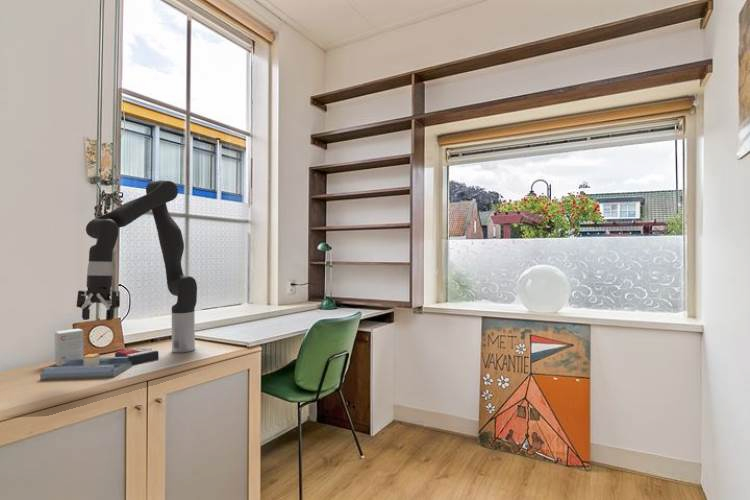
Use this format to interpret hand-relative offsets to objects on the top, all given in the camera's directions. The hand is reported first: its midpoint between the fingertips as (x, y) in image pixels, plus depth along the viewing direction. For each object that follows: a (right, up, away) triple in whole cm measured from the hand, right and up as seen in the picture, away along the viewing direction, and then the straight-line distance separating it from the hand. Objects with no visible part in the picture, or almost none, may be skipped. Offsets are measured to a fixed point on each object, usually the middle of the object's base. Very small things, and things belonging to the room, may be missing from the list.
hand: (97, 319), depth 142 cm
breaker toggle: (-5, -18, +4) cm, 19 cm away
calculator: (+1, -21, +22) cm, 30 cm away
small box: (-22, -20, +16) cm, 34 cm away
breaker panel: (-6, -20, +4) cm, 21 cm away
